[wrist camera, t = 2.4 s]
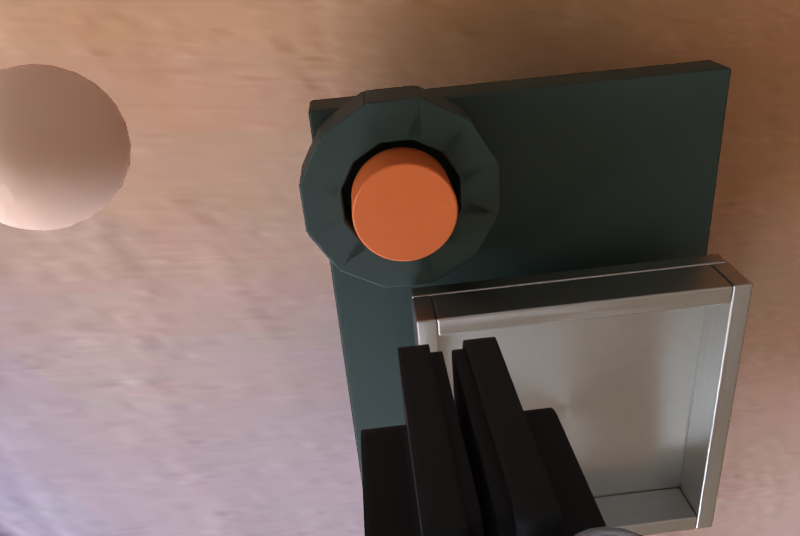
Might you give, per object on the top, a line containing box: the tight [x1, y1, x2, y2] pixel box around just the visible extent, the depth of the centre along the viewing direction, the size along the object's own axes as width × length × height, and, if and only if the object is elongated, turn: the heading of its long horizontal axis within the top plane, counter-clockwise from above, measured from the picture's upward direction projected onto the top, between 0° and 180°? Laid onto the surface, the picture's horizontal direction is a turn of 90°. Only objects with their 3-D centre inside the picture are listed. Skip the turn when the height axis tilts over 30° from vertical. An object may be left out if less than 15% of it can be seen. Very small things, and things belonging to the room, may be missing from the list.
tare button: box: [351, 147, 458, 261], centre depth 20 cm, size 3×3×2 cm
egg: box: [0, 64, 131, 230], centre depth 19 cm, size 4×4×6 cm
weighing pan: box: [410, 254, 753, 535], centre depth 23 cm, size 10×10×2 cm
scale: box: [299, 60, 731, 486], centre depth 24 cm, size 16×14×3 cm
